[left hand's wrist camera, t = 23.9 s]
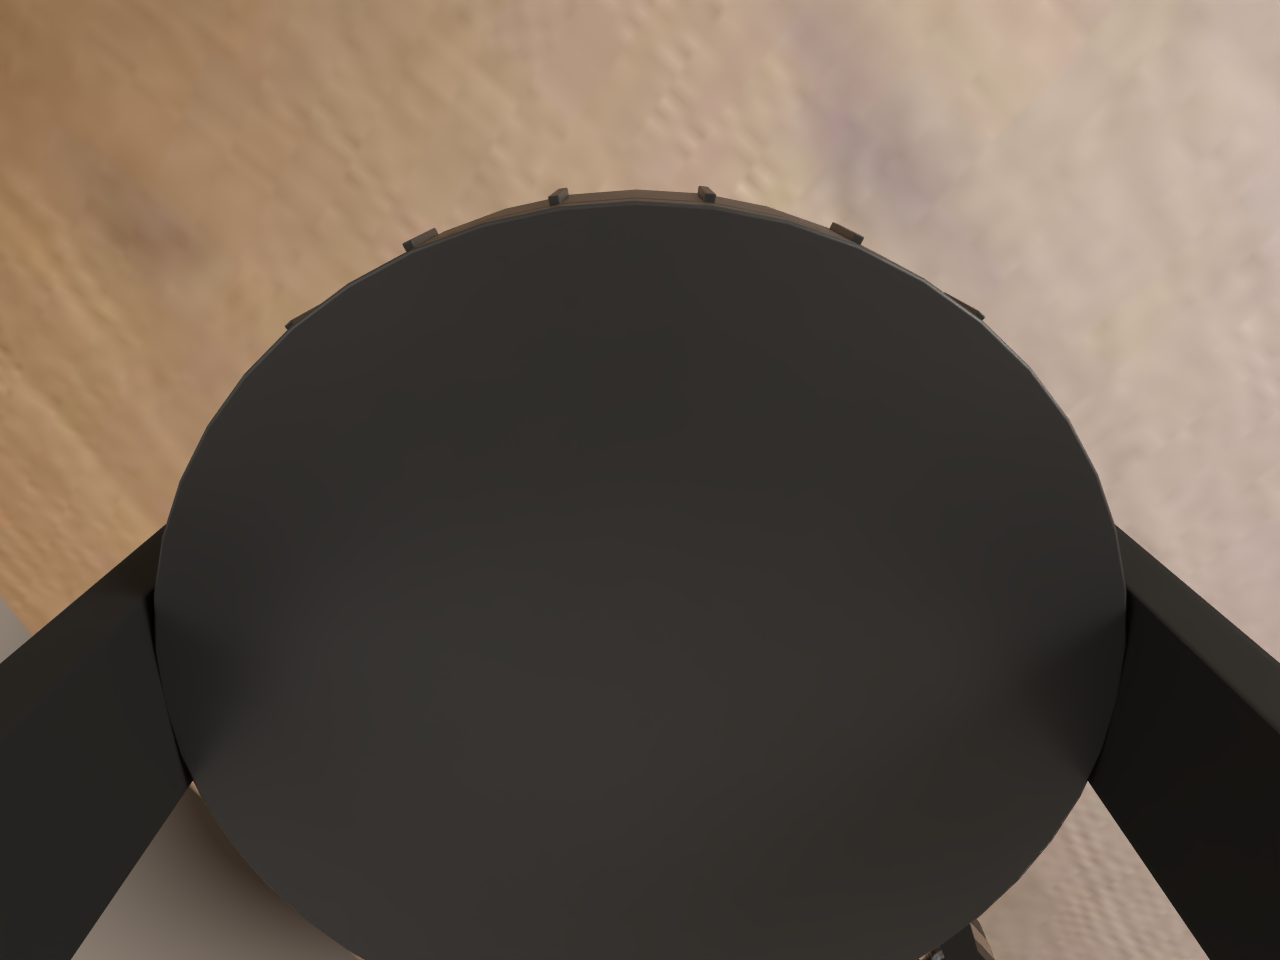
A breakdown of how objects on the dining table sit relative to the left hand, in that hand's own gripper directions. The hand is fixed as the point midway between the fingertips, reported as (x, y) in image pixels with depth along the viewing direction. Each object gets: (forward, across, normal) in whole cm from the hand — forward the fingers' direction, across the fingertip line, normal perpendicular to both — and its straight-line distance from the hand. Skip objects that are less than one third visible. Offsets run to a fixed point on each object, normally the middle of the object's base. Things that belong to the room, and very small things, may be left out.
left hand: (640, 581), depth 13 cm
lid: (-3, 0, 0) cm, 3 cm away
